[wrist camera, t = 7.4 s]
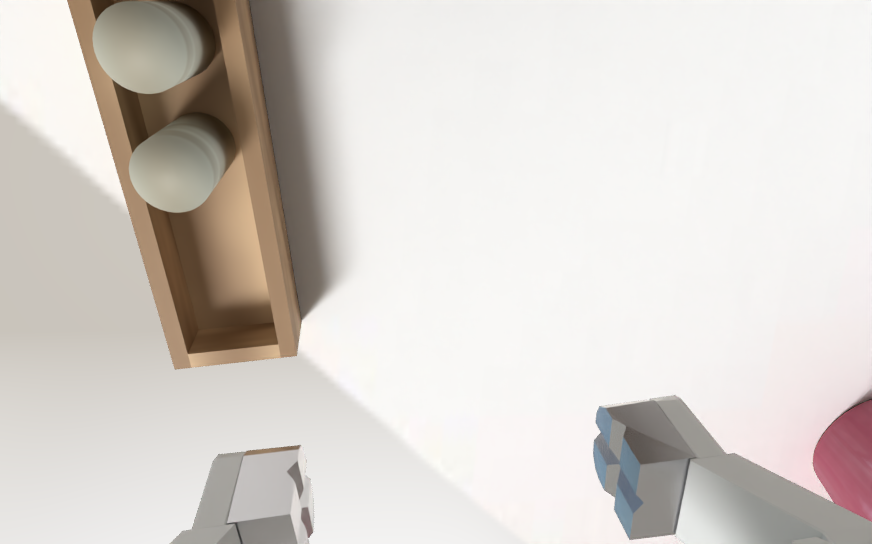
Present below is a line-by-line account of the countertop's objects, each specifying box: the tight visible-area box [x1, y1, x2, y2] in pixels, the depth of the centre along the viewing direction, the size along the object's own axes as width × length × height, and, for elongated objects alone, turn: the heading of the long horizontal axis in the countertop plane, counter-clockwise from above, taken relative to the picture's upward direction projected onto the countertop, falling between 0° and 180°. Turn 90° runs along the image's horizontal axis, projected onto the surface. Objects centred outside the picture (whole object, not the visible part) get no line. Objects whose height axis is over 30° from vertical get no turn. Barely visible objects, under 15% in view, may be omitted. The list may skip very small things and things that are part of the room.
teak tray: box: [67, 0, 301, 369], centre depth 25 cm, size 6×18×6 cm, turn 2°
